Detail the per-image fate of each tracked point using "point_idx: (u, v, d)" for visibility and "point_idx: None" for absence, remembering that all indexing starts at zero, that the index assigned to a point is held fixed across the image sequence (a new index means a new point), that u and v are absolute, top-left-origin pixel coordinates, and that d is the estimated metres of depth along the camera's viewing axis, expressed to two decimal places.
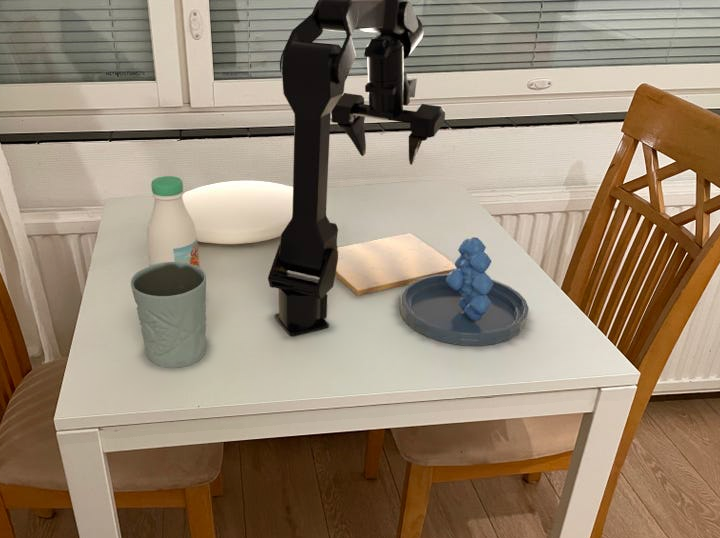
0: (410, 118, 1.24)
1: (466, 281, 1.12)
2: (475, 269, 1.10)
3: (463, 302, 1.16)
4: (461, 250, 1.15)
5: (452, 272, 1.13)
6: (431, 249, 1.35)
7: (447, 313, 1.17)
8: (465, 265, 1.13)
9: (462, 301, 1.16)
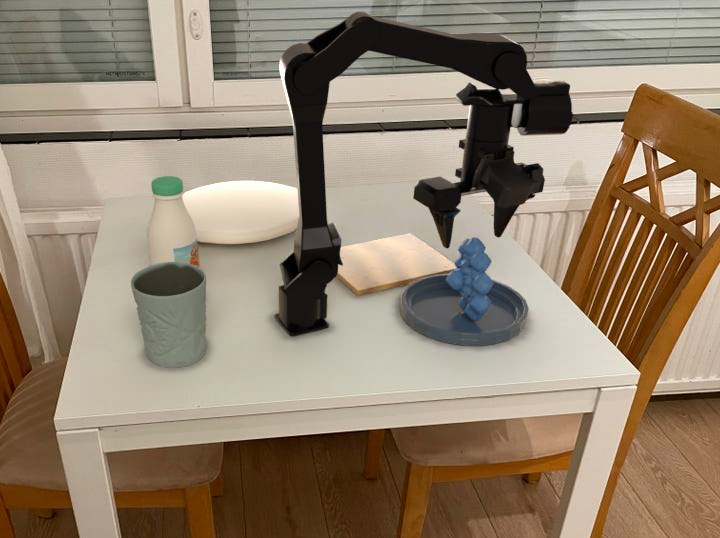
0: None
1: (466, 281, 1.12)
2: (475, 269, 1.10)
3: (463, 302, 1.16)
4: (461, 250, 1.15)
5: (452, 272, 1.13)
6: (431, 249, 1.35)
7: (447, 313, 1.17)
8: (465, 265, 1.13)
9: (462, 301, 1.16)
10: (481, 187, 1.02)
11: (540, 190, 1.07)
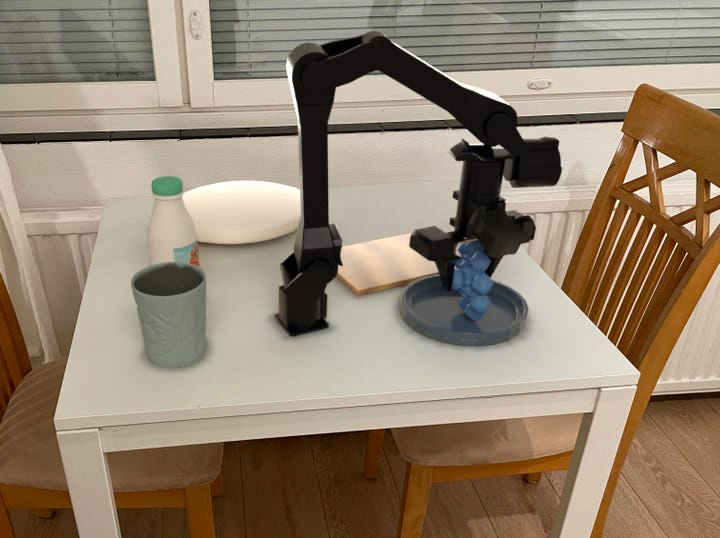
0: None
1: (466, 281, 1.12)
2: (475, 269, 1.10)
3: (463, 302, 1.16)
4: (461, 250, 1.15)
5: None
6: None
7: (447, 313, 1.17)
8: (465, 265, 1.13)
9: (462, 301, 1.16)
10: (474, 237, 1.06)
11: (531, 238, 1.11)
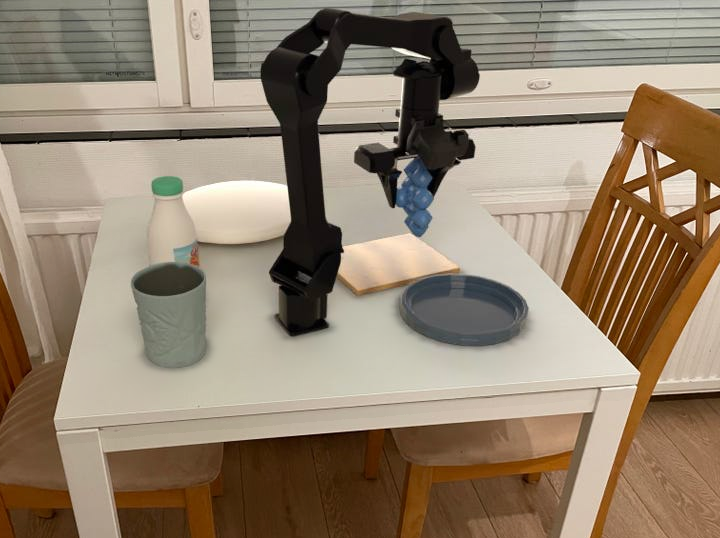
0: None
1: (409, 197, 1.18)
2: (416, 185, 1.17)
3: (408, 220, 1.22)
4: (406, 170, 1.21)
5: None
6: (431, 249, 1.35)
7: (447, 313, 1.17)
8: (408, 183, 1.19)
9: (407, 219, 1.23)
10: (413, 151, 1.13)
11: (471, 156, 1.17)
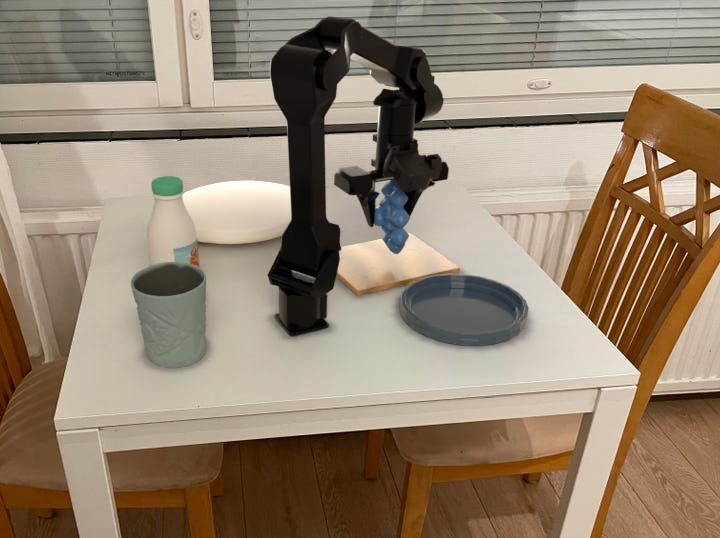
0: None
1: (386, 217, 1.25)
2: (393, 205, 1.23)
3: (386, 238, 1.29)
4: (383, 190, 1.28)
5: None
6: (431, 249, 1.35)
7: (447, 313, 1.17)
8: (386, 203, 1.26)
9: (385, 237, 1.29)
10: (390, 174, 1.19)
11: (445, 178, 1.24)
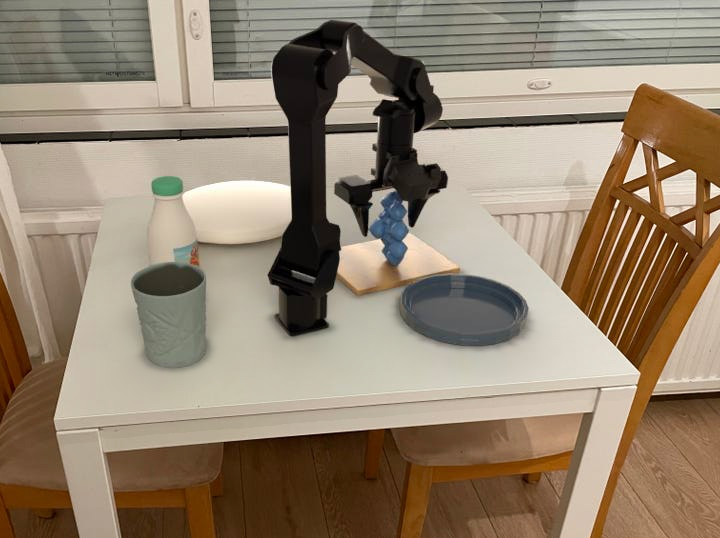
0: None
1: (385, 229, 1.26)
2: (392, 218, 1.24)
3: (385, 250, 1.30)
4: (383, 203, 1.29)
5: (374, 222, 1.27)
6: (431, 249, 1.35)
7: (447, 313, 1.17)
8: (385, 215, 1.27)
9: (384, 249, 1.30)
10: (390, 184, 1.20)
11: (444, 186, 1.25)
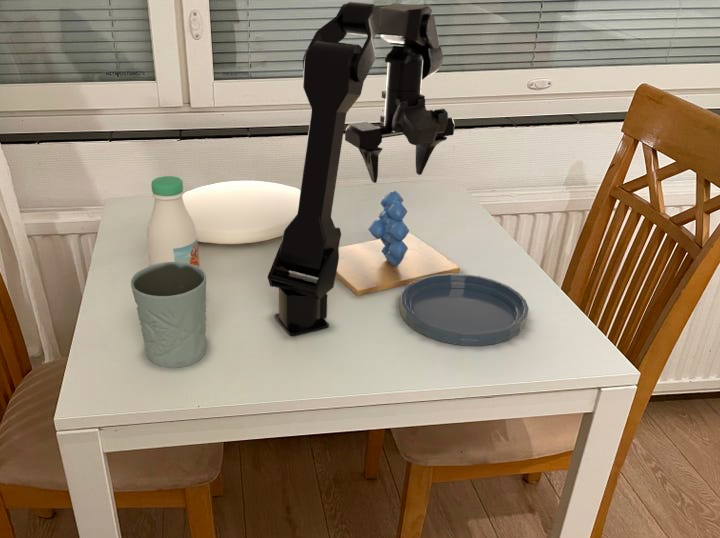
0: None
1: (385, 229, 1.26)
2: (392, 218, 1.24)
3: (385, 250, 1.30)
4: (383, 203, 1.29)
5: (374, 222, 1.27)
6: (431, 249, 1.35)
7: (447, 313, 1.17)
8: (385, 215, 1.27)
9: (384, 249, 1.30)
10: (398, 129, 1.25)
11: (451, 133, 1.30)
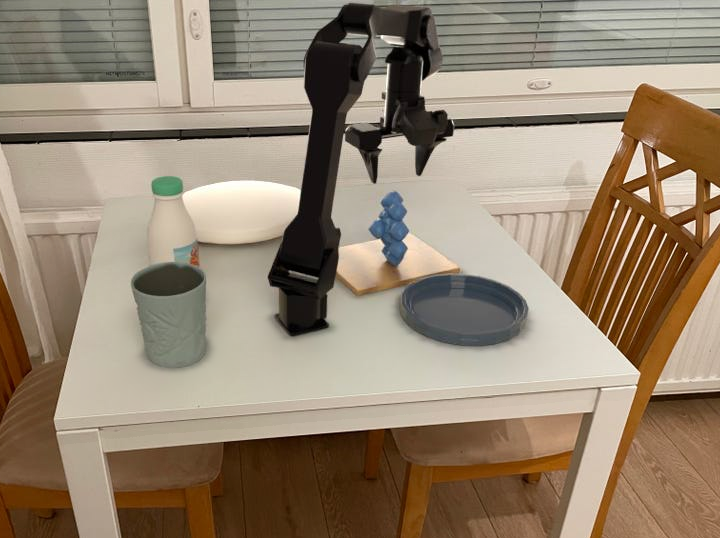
0: None
1: (385, 229, 1.26)
2: (392, 218, 1.24)
3: (385, 250, 1.30)
4: (383, 203, 1.29)
5: (374, 222, 1.27)
6: (431, 249, 1.35)
7: (447, 313, 1.17)
8: (385, 215, 1.27)
9: (384, 249, 1.30)
10: (398, 130, 1.25)
11: (450, 134, 1.30)
